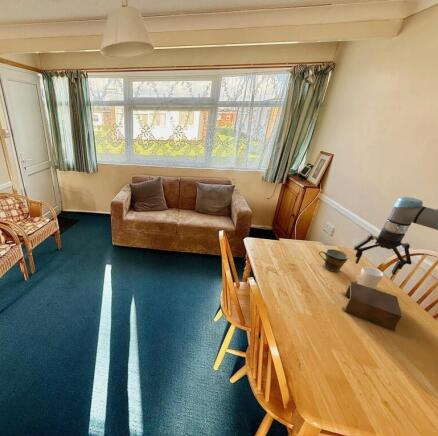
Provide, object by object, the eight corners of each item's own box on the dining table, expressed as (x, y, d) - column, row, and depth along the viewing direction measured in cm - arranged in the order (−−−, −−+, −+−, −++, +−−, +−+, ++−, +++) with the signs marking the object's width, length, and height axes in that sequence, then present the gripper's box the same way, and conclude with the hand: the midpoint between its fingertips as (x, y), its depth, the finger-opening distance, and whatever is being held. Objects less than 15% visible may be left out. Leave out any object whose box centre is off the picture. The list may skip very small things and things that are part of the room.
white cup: (377, 288, 117) (385, 272, 113) (372, 294, 113) (380, 278, 109) (358, 279, 123) (365, 264, 119) (352, 285, 119) (360, 270, 115)
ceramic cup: (340, 266, 134) (347, 252, 130) (343, 275, 126) (350, 261, 122) (314, 259, 140) (319, 246, 136) (315, 268, 132) (320, 254, 128)
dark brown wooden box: (389, 309, 105) (397, 296, 101) (393, 330, 95) (402, 316, 91) (344, 293, 114) (350, 281, 110) (344, 311, 104) (350, 298, 101)
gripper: (358, 225, 109) (342, 261, 118) (436, 242, 95) (411, 282, 104) (358, 220, 114) (342, 255, 123) (432, 235, 100) (408, 274, 109)
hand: (374, 267), depth 113 cm, fingers open, 13 cm apart
